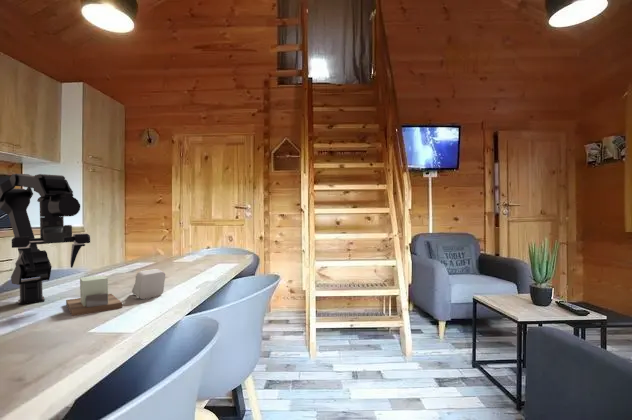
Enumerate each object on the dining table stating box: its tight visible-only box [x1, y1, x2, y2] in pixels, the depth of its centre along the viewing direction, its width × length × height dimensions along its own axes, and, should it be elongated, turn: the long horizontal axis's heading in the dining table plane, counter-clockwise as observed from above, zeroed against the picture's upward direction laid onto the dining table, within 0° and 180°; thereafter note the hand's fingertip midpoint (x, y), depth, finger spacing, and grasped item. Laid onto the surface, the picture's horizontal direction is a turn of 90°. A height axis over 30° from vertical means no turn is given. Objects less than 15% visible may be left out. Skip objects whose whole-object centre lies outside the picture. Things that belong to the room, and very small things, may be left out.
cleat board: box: [65, 293, 123, 317], centre depth 108 cm, size 16×12×4 cm
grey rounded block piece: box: [131, 268, 166, 300], centre depth 121 cm, size 8×10×10 cm
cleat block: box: [79, 275, 109, 306], centre depth 107 cm, size 7×6×7 cm
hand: (53, 269), depth 110 cm, fingers open, 9 cm apart
